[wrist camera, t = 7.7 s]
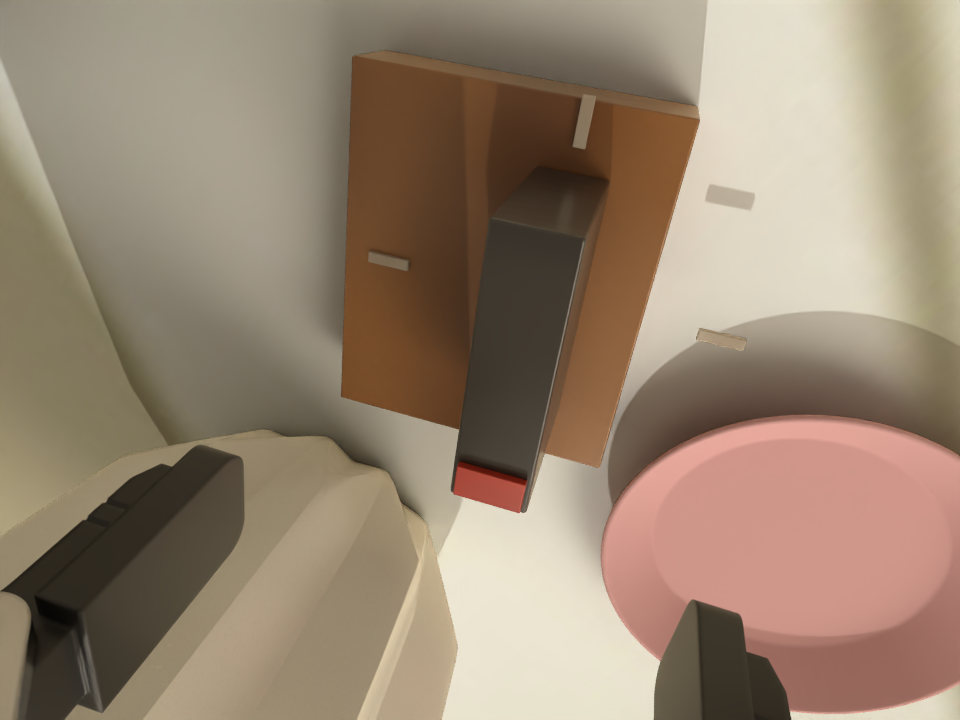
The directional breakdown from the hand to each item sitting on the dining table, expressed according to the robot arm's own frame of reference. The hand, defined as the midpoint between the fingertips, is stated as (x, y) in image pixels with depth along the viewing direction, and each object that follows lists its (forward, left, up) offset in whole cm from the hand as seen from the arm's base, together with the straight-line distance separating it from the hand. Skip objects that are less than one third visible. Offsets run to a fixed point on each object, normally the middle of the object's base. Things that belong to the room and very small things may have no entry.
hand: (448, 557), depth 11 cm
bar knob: (0, 0, -11) cm, 11 cm away
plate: (+11, -9, -14) cm, 20 cm away
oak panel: (-1, 0, -14) cm, 14 cm away
